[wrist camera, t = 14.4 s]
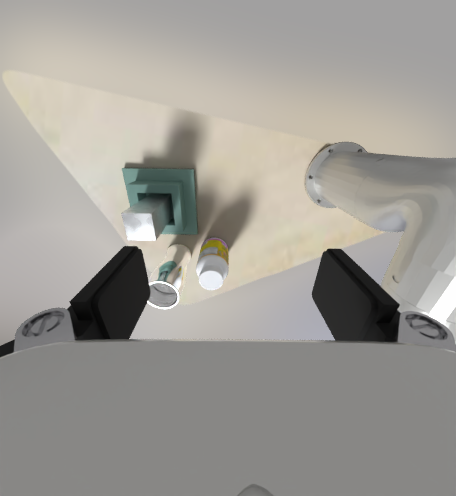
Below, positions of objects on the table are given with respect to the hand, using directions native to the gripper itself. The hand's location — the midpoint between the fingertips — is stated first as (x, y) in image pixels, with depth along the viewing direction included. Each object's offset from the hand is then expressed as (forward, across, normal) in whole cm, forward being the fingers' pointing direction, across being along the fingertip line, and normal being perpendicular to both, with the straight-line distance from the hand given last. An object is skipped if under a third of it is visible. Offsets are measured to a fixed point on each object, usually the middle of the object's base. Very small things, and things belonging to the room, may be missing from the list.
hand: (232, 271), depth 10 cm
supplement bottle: (+34, +3, +17) cm, 39 cm away
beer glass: (+34, +12, +19) cm, 41 cm away
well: (+34, +14, +6) cm, 38 cm away
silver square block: (+33, +14, +6) cm, 37 cm away
